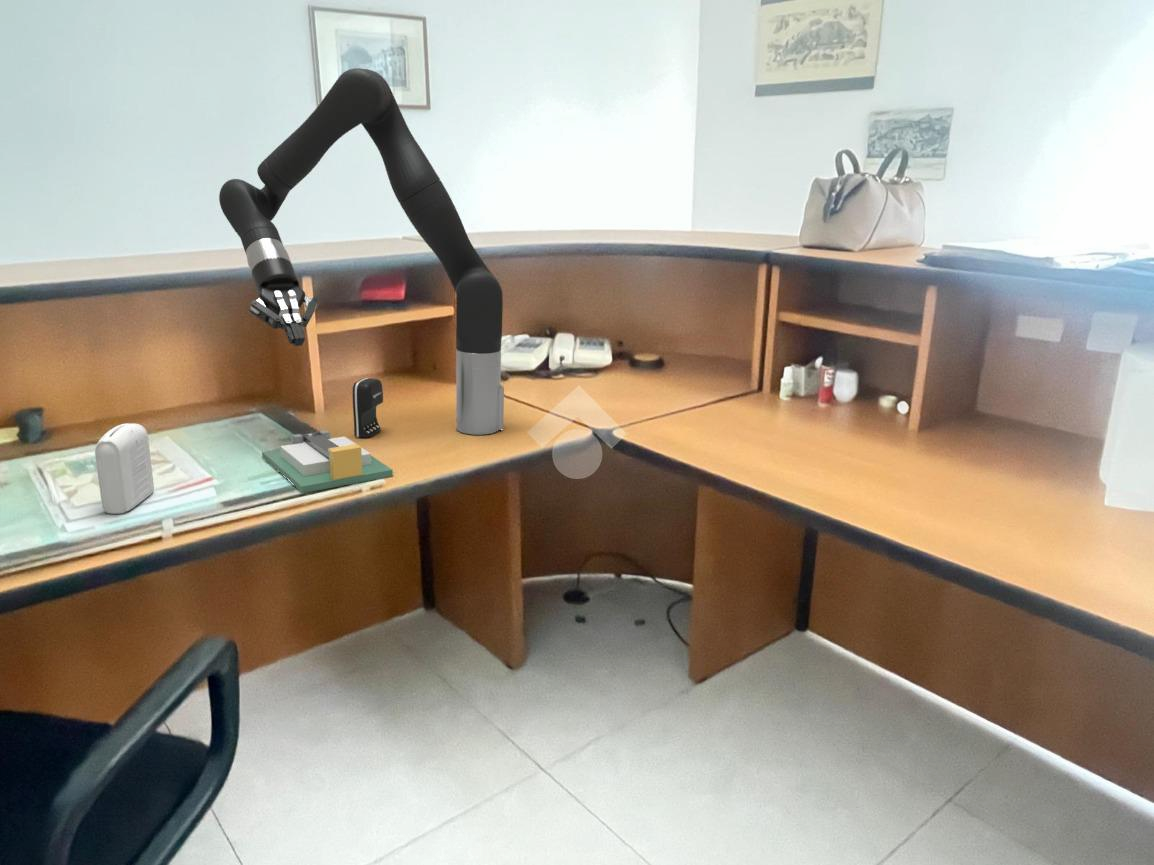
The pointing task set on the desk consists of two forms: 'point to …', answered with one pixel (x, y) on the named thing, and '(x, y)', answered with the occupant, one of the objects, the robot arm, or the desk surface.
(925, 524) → the desk surface
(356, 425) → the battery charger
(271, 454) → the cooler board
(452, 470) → the desk surface
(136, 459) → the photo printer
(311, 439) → the gray flat bar
